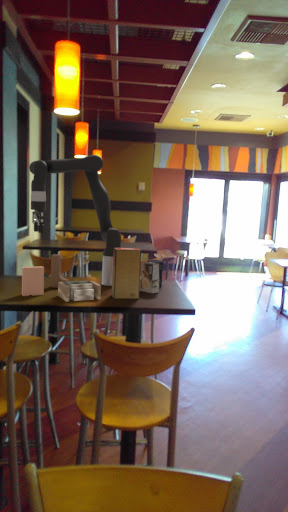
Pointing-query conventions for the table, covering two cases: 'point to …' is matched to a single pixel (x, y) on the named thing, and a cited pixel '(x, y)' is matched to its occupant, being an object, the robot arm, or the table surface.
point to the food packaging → (126, 273)
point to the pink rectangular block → (32, 281)
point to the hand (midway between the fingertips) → (38, 232)
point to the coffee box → (150, 277)
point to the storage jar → (160, 269)
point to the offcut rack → (79, 290)
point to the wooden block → (56, 270)
